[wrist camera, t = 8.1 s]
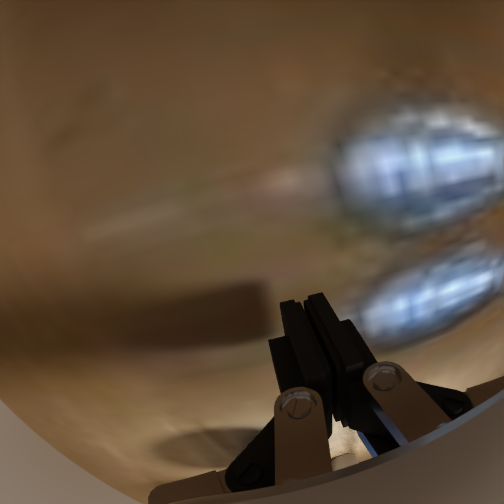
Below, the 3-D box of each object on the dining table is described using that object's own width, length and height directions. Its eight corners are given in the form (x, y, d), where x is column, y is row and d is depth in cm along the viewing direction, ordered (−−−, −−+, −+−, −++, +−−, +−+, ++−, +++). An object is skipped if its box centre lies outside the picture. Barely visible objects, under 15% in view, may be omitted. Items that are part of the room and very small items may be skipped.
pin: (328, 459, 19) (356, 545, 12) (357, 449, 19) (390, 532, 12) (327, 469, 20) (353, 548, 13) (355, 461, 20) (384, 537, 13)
